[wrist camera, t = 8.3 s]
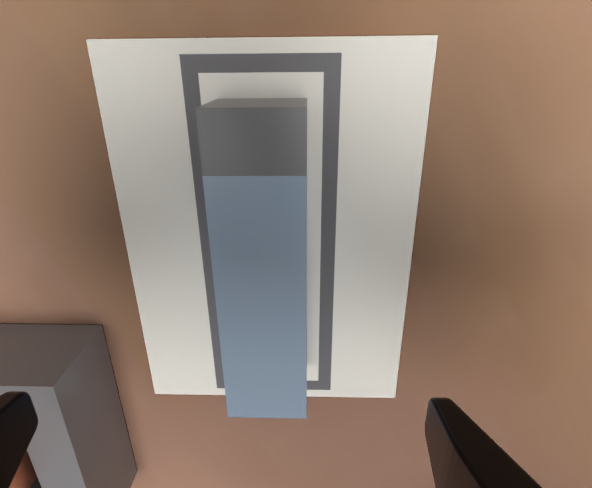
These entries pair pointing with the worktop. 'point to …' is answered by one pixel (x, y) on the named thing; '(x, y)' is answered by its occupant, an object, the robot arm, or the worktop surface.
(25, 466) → the button
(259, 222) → the rectangular block
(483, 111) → the worktop surface
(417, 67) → the paper sheet
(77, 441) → the button housing
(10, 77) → the worktop surface
